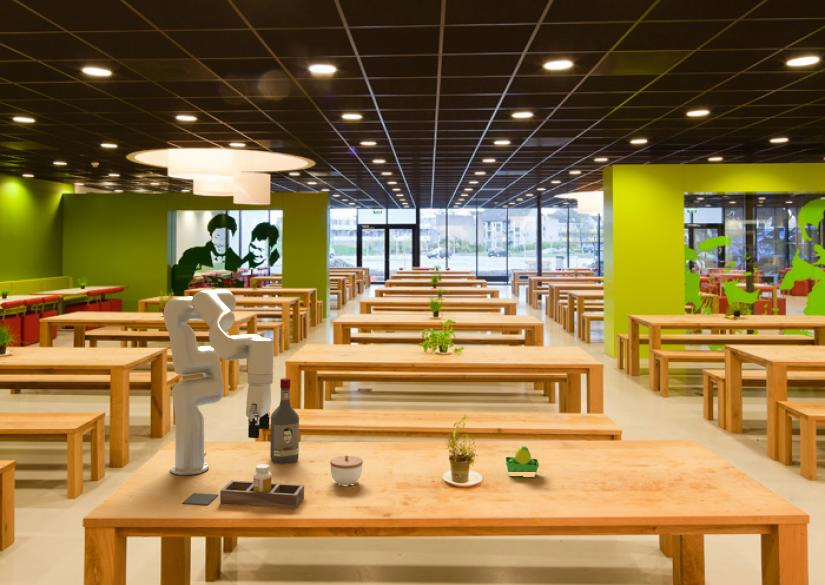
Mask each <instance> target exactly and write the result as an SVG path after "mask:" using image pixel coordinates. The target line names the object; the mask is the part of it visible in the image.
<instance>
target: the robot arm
mask: <svg viewBox="0 0 825 585" xmlns="http://www.w3.org/2000/svg"><path fill="white" fill-rule="evenodd" d="M236 306H237V301H236V297H235V295H234V294H233V293H232V292H231V291H230V290H227V289H204V290H200V291H197V292H196V293H195V294H194V295H193V296H182V297H180V296H179V297H175V298H172V299H170V300H168V301H167V302H166V304H165V306H164V309H163V321H164V324H165V328H166V330H167V333H168V336H169V341H170V348H171V358H172V365H173V369H174V372H175V374H177V375H179V376H182V377H184V376H193V375H200V374H202V376H203V377H197V378H195V377H194V378H188V379H183V380H180V381H178V382H177V383H176V384H174V386H173V387H172V390H171V395H172V401H173V406H174V420H175V421H174V428H175V429H174V430H175V431H174V432H175V434H174V436H175V438H174V439H175V440H174V442H175V443H174V447H175V448H174V452H175V453H174V455H175V456H174V461H175V462H174V464H172V465H171V466H170V473H173V474H174V475H179V476H191V475H198V474H202V473H205V472H207V471H208V469H209V463H207V462H206V461H205V457H206V456H207V452H206V451H205V417H204V415H203V414H202V412H201V411H200V409H199V407H201V406H204V405H209V404H210V405H211V404H215V403H218V402H220V401H221V400H222V398H223V395H224V390H225V389H224V380H223V375H222V374H223V373H222V365H221V359H223V360H226V361H236V360H247V384H248V387H247V396H246V407H245V416H246V417H247V419H248V420H247V421H248V423H247V424H248V430H247V432H248V433H247V437H248V438H249V439H259V438H260V430H269V429H270V419H271V415H270V414H271V413H270V410H271V402H272V397H271V396H272V394H271V393H272V389H271V385H273V379H274V346H275V344H274V341H273V339H272V338H268V337H262V336H261V335H259V334H255V333H248V334H247V333H245V334H236V335H235V334H234V335H228V334H226V332H228V331H229V330H230V329H231V328H232V327H233V325H234V323H235V320H236V317H235V314H234V313H233V312H234V311H235V310H236ZM200 321H204V322H205V323H206V325H207V326H208V327H209V331H208V338H209V343H210V345H211V346H210V345H204V346H203V345H202V346H198V344H197V337H196V333H195V330H193V328H192V326H190V325H189V322H200ZM187 322H188V323H187Z"/></svg>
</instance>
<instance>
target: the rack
mask: <svg viewBox="0 0 825 585" xmlns="http://www.w3.org/2000/svg"><path fill="white" fill-rule="evenodd" d="M253 482H254V481H247V480H230V481H229V482H228V483H227V484H226V485H225V486H224V487H223V488H221V489H220V491H219V492H220V493H219V494H220V495H219V497H220V500H219V502H220V503H219V504H220V505H228V506H240V507H241V506H243V507H260V508H274V509H291V510H297V509H298V507H299V506H300V504H301V503H302V502H303V501H304V499H305V484H298V483H297V484H295V483H292V484H291V483H278V482H271V492H255V491H253ZM301 501H302V502H301Z"/></svg>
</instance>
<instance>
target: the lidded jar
mask: <svg viewBox="0 0 825 585" xmlns="http://www.w3.org/2000/svg"><path fill="white" fill-rule="evenodd" d="M363 463H364V462H363V459H362V458H360V457H359V456H354V455H348V454H345V455H339V456H335V457H333V458H331V459H330V464H329V465H330V473H331V474H330V475H331V477H332V479H333V481H334V482H335V483H336V484H337V483H338V484H340V485H351V484H354V483H355V484H356V483H357V482H359V479H360V478H361V476H362V472H363ZM338 484H337V485H338ZM355 484H354V485H355ZM340 485H339V486H340Z"/></svg>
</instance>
